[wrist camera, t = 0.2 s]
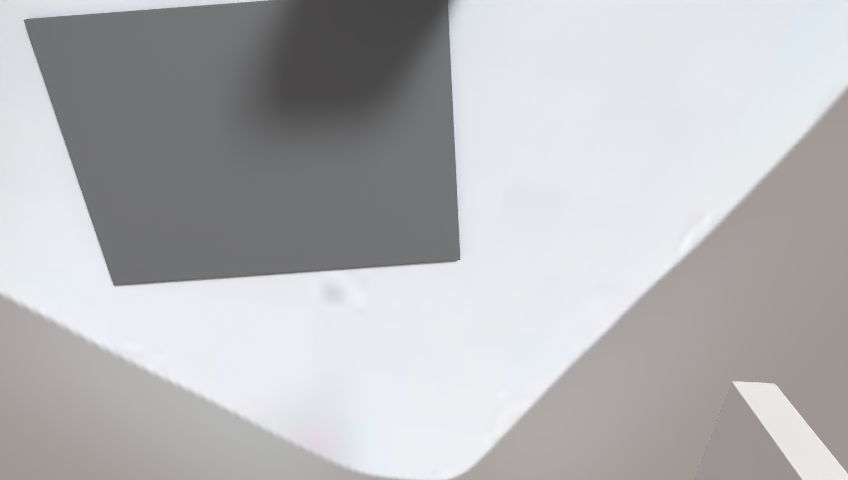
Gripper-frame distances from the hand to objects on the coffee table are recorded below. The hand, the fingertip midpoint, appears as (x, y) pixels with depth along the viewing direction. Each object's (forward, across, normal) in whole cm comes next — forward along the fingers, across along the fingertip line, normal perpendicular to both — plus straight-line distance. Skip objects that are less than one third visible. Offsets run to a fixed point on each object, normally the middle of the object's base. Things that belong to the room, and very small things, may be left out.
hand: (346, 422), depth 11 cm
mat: (+27, -7, -4) cm, 28 cm away
